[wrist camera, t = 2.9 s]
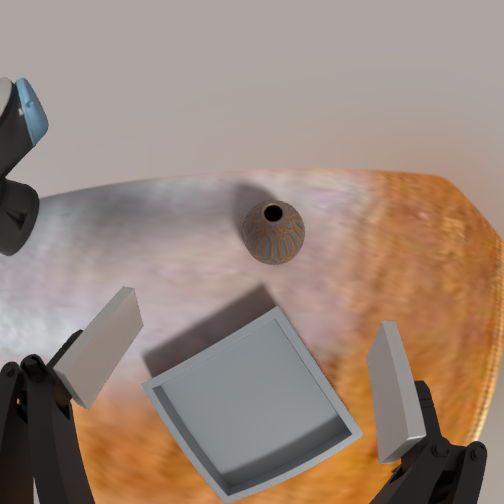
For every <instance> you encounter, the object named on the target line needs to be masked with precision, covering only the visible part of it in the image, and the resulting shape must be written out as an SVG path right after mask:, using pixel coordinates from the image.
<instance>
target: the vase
mask: <svg viewBox="0 0 504 504" xmlns="http://www.w3.org/2000/svg"><path fill="white" fill-rule="evenodd" d="M304 237H305V228H304V223H303V221H302V218H301V216H300V215H299V213H298V212H297V211H296V210H295V209H294V208H293V207H292V206H291V205H289V204H287V203H285V202H283V201H278V200H269V201H265V202H262V203H260V204H258V205H257V206H255V207H254V208H253V209H252V210H251V211H250V212H249V214H248V215H247V217H246V219H245V222H244V226H243V239H244V243H245V245H246V247H247V249H248V251H249V252H250V254H251V255H252V256H253V257H254V258H255V259H257V260H258V261H260V262H262V263H265V264H269V265H279V264H283V263H286V262H288V261H289V260H291V259H292V258H294V257H295V256H296V255H297V253H298V252H299V251H300V249H301V247H302V245H303V242H304Z"/></svg>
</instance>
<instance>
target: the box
mask: <svg viewBox="0 0 504 504" xmlns="http://www.w3.org/2000/svg"><path fill="white" fill-rule="evenodd" d="M142 386H143V388H144V390H145V392H146V393H147V395H148V397H149V399H150V400H151V402H152V404H153V405H154V407H155V409H156V411H157V412H158V414H159V415H160V417H161V419H162V420H163V422H164V423H165V425H166V427H167V428H168V430H169V431H170V433H171V434H172V436H173V437H174V439H175V440H176V442H177V443H178V445H179V446H180V447H181V449H182V450H183V452H184V453H185V454H186V456H187V457H188V459H189V460H190V461H191V463H192V464H193V465H194V467H195V468H196V469H197V471H198V472H199V473H200V474H201V476H202V477H203V478H204V479H205V481H206V482H207V483H208V484H209V485H210V487H211V488H212V489H213V490H214V491H215V493H216V494H217V495H218V496H219V497H220V498H221V499H222V501H223V502H224V503H225V504H226V503H229V502H232V501H235V500H238V499H241V498H244V497H247V496H249V495H252V494H255V493H257V492H260V491H262V490H265V489H267V488H269V487H272V486H274V485H276V484H279V483H281V482H283V481H285V480H287V479H289V478H291V477H294V476H296V475H298V474H300V473H302V472H303V471H305V470H307V469H309V468H311V467H313V466H315V465H317V464H318V463H320V462H322V461H324V460H325V459H327V458H329V457H331V456H332V455H334V454H336V453H337V452H339V451H341V450H342V449H344V448H345V447H347V446H348V445H350V444H351V443H353V442H355V441H356V440H357V439H359V438H360V437H362V436H363V435H364V434H363V433H362V431H361V430H360V428H359V427H358V425H357V424H356V422H355V421H354V419H353V418H352V416H351V415H350V413H349V412H348V410H347V409H346V407H345V406H344V404H343V403H342V401H341V400H340V398H339V397H338V395H337V394H336V392H335V391H334V389H333V388H332V386H331V385H330V383H329V382H328V380H327V379H326V377H325V376H324V374H323V373H322V371H321V370H320V368H319V367H318V365H317V364H316V362H315V361H314V359H313V358H312V356H311V355H310V353H309V351H308V350H307V348H306V347H305V345H304V344H303V342H302V341H301V339H300V338H299V336H298V335H297V333H296V332H295V330H294V329H293V327H292V326H291V324H290V323H289V321H288V320H287V318H286V317H285V315H284V313H283V312H282V310H281V309H280V307H279V306H276V307H275V308H273V309H271V310H270V311H268V312H267V313H265V314H264V315H262V316H260V317H259V318H257V319H255V320H254V321H252V322H251V323H249V324H247V325H246V326H244V327H242V328H241V329H239V330H237V331H236V332H234V333H232V334H231V335H229V336H227V337H226V338H224V339H222V340H221V341H219V342H217V343H216V344H214V345H212V346H210V347H209V348H207V349H205V350H203V351H202V352H200V353H198V354H196V355H195V356H193V357H191V358H189V359H187V360H186V361H184V362H182V363H180V364H178V365H176V366H175V367H173V368H171V369H169V370H167V371H165V372H164V373H162V374H160V375H158V376H156V377H154V378H152V379H150V380H148V381H146V382H144V383H142Z"/></svg>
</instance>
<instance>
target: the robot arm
mask: <svg viewBox="0 0 504 504" xmlns="http://www.w3.org/2000/svg"><path fill="white" fill-rule="evenodd" d="M47 130H48V120H47V117H46V114H45V112H44V110H43V108H42V106H41V103H40V102H39V99H38V98H37V96H36V94H35V92H34V90H33V88H32V87H31V85H30V84H29V82H28V81H27V80H26V79H25V78H21V79H19V80H17V81H16V83H15V84H13V83H12V82H11V81H10V80H9V79H8V78H6V77H5V78H0V253H2V254H4V255H6V256H11V255H13V254H15V253H16V252H18V251H19V250H20V249H21V247H22V246H23V245H24V243H25V242H26V240H27V239H28V237H29V235H30V233H31V231H32V229H33V226H34V224H35V221H36V217H37V213H38V207H39V198H38V194H37V192H36V191H35V190H34V189H33V188H32V187H30V186H29V185H27V184H21V183H18V182H15V181H11V180H7V179H6V178H5V177H6V176H7V174H8V173H9V172H10V171H11V170H12V169H13V168H14V167H15V165H16V164H17V163H18V162H19V161H20V160H21V159H22V158H23V157H24V156H25V155H26V154H27V153H28V152H29V151H30V150H31V149H32V148H33V147H35V146H36V143H37V142H38V141H39V140H40V139H41V138H42V137H43V136H44V135H45V133H46V132H47ZM142 327H143V322H142V318H141V314H140V310H139V306H138V302H137V298H136V293H135V289H134V288H129V287H125V286H123V287H122V288H121V289H120V291H119V292H118V293H117V294H116V295H115V296H114V297H113V298H112V299H111V300H110V301H109V303H108V304H107V305H106V306H105V307H104V308H103V309H102V310H101V311H100V313H99V314H98V315H97V316H96V317H95V318H94V319H93V321H92V322H91V323H90V324H89V325H88V326H87V327H86V329H85V330H84V331H83V330H81V329H80V330H78V331H77V332H75V333H74V334H72V335H71V336H70V338H69V339H68V340H67V342H65V343H64V345H63V346H62V348H60V349H59V351H58V352H57V353H56V354H55V355H54V357H53V358H52V359H51V360H50V362H49V363H48V364H47V365H46V366H45V364H44V362H43V361H42V359H41V358H40V356H38V355H36V354H31V355H28V356H27V357H25V358H24V359H23V360H22V362H21V364H20V367H19V365H18V364H17V363H16V362H8V363H6V364H5V365H4V366H3V368H2V370H1V372H0V504H34V499H33V483H34V479H35V484H36V489H37V494H38V498H39V502H40V504H95V501H94V498H93V495H92V492H91V489H90V486H89V483H88V480H87V476H86V473H85V469H84V465H83V461H82V457H81V453H80V449H79V444H78V439H77V434H76V429H75V423H74V417H73V410H72V405H71V402H70V400H71V399H72V397H73V399H74V400H75V402H76V403H77V404H78V405H80V406H82V407H84V408H86V409H88V410H89V408H90V407H91V405H92V403H93V402H94V400H95V399H96V397H97V395H98V394H99V392H100V391H101V389H102V388H103V386H104V384H105V383H106V381H107V380H108V378H109V377H110V375H111V374H112V372H113V370H114V369H115V367H116V366H117V364H118V363H119V361H120V360H121V358H122V357H123V355H124V354H125V352H126V351H127V349H128V348H129V346H130V345H131V343H132V342H133V340H134V339H135V337H136V336H137V335H138V333H139V332H140V330H141V329H142ZM366 359H367V364H368V370H369V377H370V383H371V390H372V397H373V405H374V413H375V422H376V431H377V442H378V455H379V464H386V463H394V462H396V461H397V460H398V459H400V458H401V463H402V464H400V465H399V466H398V467H396V468H395V469H394V470H393V471H392V473H394V474H393V475H392V476H391V478H390V479H389V480H388V482H387V483H386V484H385V485H384V487H383V488H382V489H381V490H380V492H379V493H378V494H377V495H376V496H375V498H374V499H373V500H372V501H371V502H370V503H369V504H477V501H478V497H479V493H480V489H481V485H482V481H483V476H484V471H485V466H486V460H487V450H486V447H485V445H484V444H482V443H481V442H479V441H474V442H472V443H470V444H469V445H468V446H467V447H465V446H457V445H452V444H450V442H449V441H448V440H447V439H446V438H444V437H442V435H441V432H440V428H439V423H438V419H437V415H436V411H435V407H434V404H433V400H432V396H431V393H430V390H429V388H428V386H427V385H426V384H425V382H424V381H414V380H413V377H412V373H411V370H410V366H409V363H408V359H407V356H406V353H405V350H404V347H403V344H402V340H401V337H400V334H399V332H398V329H397V326H396V323H395V321H381V324H380V326H379V329H378V331H377V334H376V336H375V338H374V341H373V343H372V346H371V348H370V350H369V352H368V355H367V357H366ZM17 399H19V403H18V404H17ZM33 478H34V479H33Z"/></svg>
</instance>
